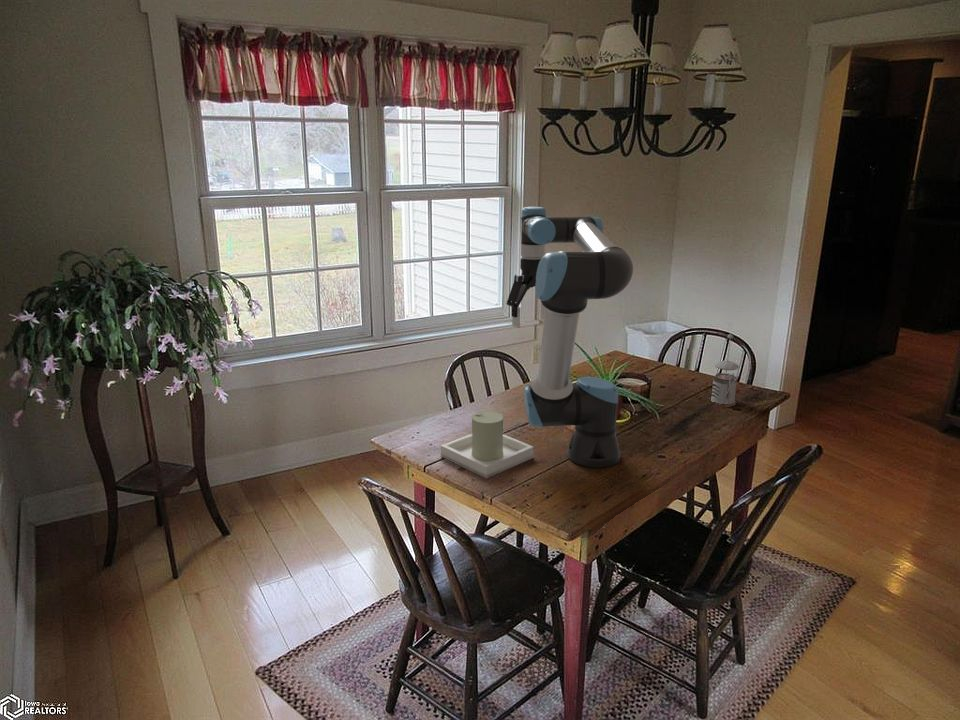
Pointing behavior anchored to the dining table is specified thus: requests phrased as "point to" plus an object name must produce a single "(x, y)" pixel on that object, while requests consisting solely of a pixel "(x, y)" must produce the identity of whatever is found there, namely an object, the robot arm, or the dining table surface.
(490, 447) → the can
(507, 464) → the tray
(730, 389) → the french press
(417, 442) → the dining table surface
